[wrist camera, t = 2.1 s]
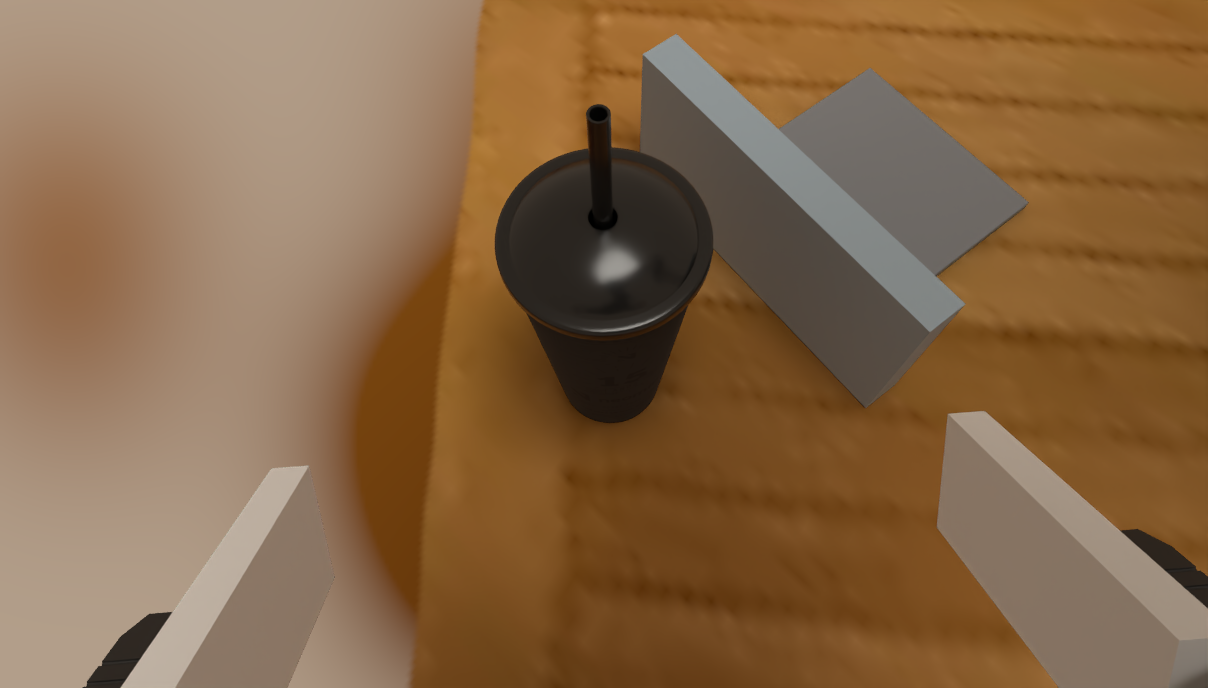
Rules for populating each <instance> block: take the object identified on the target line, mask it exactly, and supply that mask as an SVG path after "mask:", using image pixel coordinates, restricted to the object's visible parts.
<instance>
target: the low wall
mask: <svg viewBox="0 0 1208 688" xmlns="http://www.w3.org/2000/svg"><path fill="white" fill-rule="evenodd" d="M640 152H641V153H644V154H647V155H649V156H652V157H655V158H657V159H659V160H661V161H663V162H664V163H666V164H668V165H669V166H671V167H672V168H674V169H675V170H677V171H678V172H679V173H680V174H681V175H683V176H684V177H685V178H686V179H687V180H688V181H689V182H690V183H691V184H692V186H693V187H694V188H695V190H696V191H697V192H698V194H699V195H700V197H701V199H702V200H703V202H704V204H705V206H706V208H707V211H708V213H709V216H710V219H711V224H712V229H713V249H714V250H715V251H716V252H717V253H718V254H719V255H720V256H721V257H722V258H723V259H724V260H725V261H726V262H727V263H728V264H729V265H730V266H731V267H732V268H733V270H734V271H735V272H736V273H737V274H738V275H739V276H740V277H741V278H742V279H743V280H744V281H745V282H746V283H747V284H748V285H749V286H750V287H751V288H752V289H753V291H754V292H755V293H756V294H757V295H758V296H759V297H760V298H761V299H762V300H763V301H764V302H765V303H766V304H767V305H768V306H769V307H770V308H771V309H772V310H773V311H774V313H775V314H776V315H777V316H778V317H779V318H780V319H781V320H782V321H783V322H784V323H785V324H786V325H787V326H788V327H789V328H790V329H791V330H792V331H793V332H794V334H795V335H796V336H797V337H798V338H799V339H800V340H801V341H802V342H803V343H804V344H805V345H806V346H807V347H808V348H809V349H810V350H811V351H812V352H813V353H814V354H815V356H816V357H817V358H818V359H819V360H820V361H821V362H822V363H823V364H824V365H825V366H826V367H827V368H828V369H829V370H830V371H831V372H832V373H833V374H834V375H835V377H836V378H837V379H838V380H839V381H840V382H841V383H842V384H843V385H844V386H845V387H846V388H847V389H848V390H849V391H850V392H851V393H852V394H853V395H854V396H855V397H856V399H857V400H858V401H859V402H860V403H861V404H862V405H863V406H864V407H865V408H867V407H868V406H869V405H870V404H872V403H873V402H874V401H875V400H877V399H878V398H879V397H880V396H882V395H883V394H884V393H885V392H887V391H888V390H889V389H890V388H891V387H893V386H894V385H895V384H896V383H897V382H898V381H899V379H900V378H901V377H902V376H903V375H904V374H905V373H906V371H907V370H908V369H909V368H910V367H911V366H912V365H913V363H914V362H915V361H916V360H917V359H918V358H919V357H920V355H921V354H922V353H923V352H924V351H925V350H926V349H927V347H928V346H929V345H930V344H931V343H932V342H933V341H934V339H935V338H936V337H937V336H938V335H939V334H940V333H941V331H942V330H943V329H944V328H945V327H946V326H947V325H948V323H949V322H950V321H951V320H952V319H953V318H954V317H955V315H956V314H957V313H958V312H959V311H960V310H961V309H962V307H963V306H964V305H965V303H964V302H963V301H962V300H961V299H960V298H959V297H957V296H956V295H955V294H954V293H953V292H952V291H951V290H950V289H949V288H948V287H947V286H946V285H945V284H944V283H942V282H941V281H940V280H939V279H938V278H937V277H936V276H935V275H934V274H933V273H932V272H931V271H930V270H929V269H927V268H926V267H925V266H924V265H923V264H922V263H921V262H920V261H919V260H918V259H917V258H916V257H915V256H914V255H912V254H911V253H910V252H909V251H908V250H907V249H906V248H905V247H904V246H903V245H902V244H901V243H900V242H899V241H897V240H896V239H895V238H894V237H893V236H892V235H891V234H890V233H889V232H888V231H887V230H886V229H885V228H884V227H882V226H881V225H880V224H879V223H878V222H877V221H876V220H875V219H874V218H873V217H872V216H871V215H870V214H869V213H867V212H866V211H865V210H864V209H863V208H862V207H861V206H860V205H859V204H858V203H857V202H856V201H855V200H854V199H852V198H851V197H850V196H849V195H848V194H847V193H846V192H845V191H844V190H843V189H842V188H841V187H840V186H839V185H837V184H836V183H835V182H834V181H833V180H832V179H831V178H830V177H829V176H828V175H827V174H826V173H825V172H824V171H822V170H821V169H820V168H819V167H818V166H817V165H816V164H815V163H814V162H813V161H812V160H811V159H810V158H809V157H807V156H806V155H805V154H804V153H803V152H802V151H801V150H800V149H799V148H798V147H797V146H796V145H795V144H794V143H792V142H791V141H790V140H789V139H788V138H787V137H786V136H785V135H784V134H783V133H782V132H781V131H780V130H779V129H777V128H776V127H775V126H774V125H773V124H772V123H771V122H770V121H769V120H768V119H767V118H766V117H765V116H764V115H762V114H761V113H760V112H759V111H758V110H757V109H756V108H755V107H754V106H753V105H752V104H751V103H750V102H749V101H747V100H746V99H745V98H744V97H743V96H742V95H741V94H740V93H739V92H738V91H737V90H736V89H735V88H734V87H732V86H731V85H730V84H729V83H728V82H727V81H726V80H725V79H724V78H723V77H722V76H721V75H720V74H719V73H717V72H716V71H715V70H714V69H713V68H712V67H711V66H710V65H709V64H708V63H707V62H706V61H705V60H704V59H702V58H701V57H700V56H699V55H698V54H697V53H696V52H695V51H694V50H693V49H692V48H691V47H690V46H689V45H687V44H686V43H685V42H684V41H683V40H682V39H681V38H680V37H679V36H678V35H677V34H675V35H674V36H672V37H670V38H669V39H667V40H666V41H664V42H662V43H661V44H659V45H657V46H656V47H654V48H652V49H651V50H649V51H648V52H646V53H644V54H643V67H642V100H641V133H640Z"/></svg>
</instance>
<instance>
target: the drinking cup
mask: <svg viewBox="0 0 1208 688" xmlns="http://www.w3.org/2000/svg"><path fill="white" fill-rule="evenodd" d="M586 119H587V135H588V149H582V150H578V151H573V152H570V153H567V154H564V155H561V156H559V157H556V158H554V159H552V160H550V161H548V162H546V163H544V164H543V165H541V166H539V167H538V168H537V169H535V170H534V171H532V172H531V173H530V174H529V175H528V176H526V177H525V178H524V179H523V180H522V181H521V182H520V183H519V184H518V185H517V187H516V188H515V189H514V190H513V192H512V193H511V195H510V196H509V198H508V199H507V201H506V203H505V205H504V207H503V209H502V211H501V214H500V216H499V219H498V223H497V227H496V233H495V255H496V260H497V265H498V269H499V271H500V275H501V277H502V280H503V282H504V284H505V286H506V288H507V290H508V291H509V293H510V295H511V296H512V297H513V299H514V300H515V301H516V303H517V304H518V305H519V306H520V307H521V308H522V309H523V310H524V311H525V312H526V313H527V315H528V317H529V319H530V321H531V323H532V325H533V327H534V329H535V331H536V333H537V335H538V337H539V340H540V342H541V344H542V346H543V348H544V350H545V352H546V354H547V356H548V358H549V360H550V362H551V364H552V366H553V369H554V371H555V373H556V375H557V377H558V379H559V381H560V383H561V385H562V387H563V389H564V391H565V393H566V395H567V397H568V399H569V401H570V402H571V404H572V405H573V406H574V407H575V408H576V409H577V410H578V411H579V412H580V413H581V414H583V415H584V416H586V417H588V418H590V419H593V420H595V421H599V422H605V423H615V422H622V421H625V420H628V419H631V418H633V417H635V416H637V415H638V414H640V413H641V412H642V411H643V410H644V409H645V408H646V407H647V406H648V405H649V404H650V402H651V401H652V399H653V398H654V396H655V393H656V391H657V388H658V385H659V383H660V380H661V377H662V374H663V372H664V369H665V366H666V364H667V361H668V358H669V356H670V353H671V350H672V347H673V345H674V342H675V339H676V337H677V334H678V331H679V328H680V326H681V323H682V320H683V318H684V315H685V312H686V310H687V307H688V305H689V303H690V302H691V301H692V300H693V299H694V297H695V296H696V295H697V293H698V292H699V290H700V288H701V287H702V285H703V283H704V281H705V279H706V276H707V273H708V271H709V267H710V263H711V259H712V253H713V229H712V224H711V219H710V216H709V213H708V211H707V208H706V206H705V204H704V202H703V200H702V199H701V197H700V195H699V194H698V192H697V191H696V190H695V188H694V187H693V186H692V184H691V183H690V182H689V181H688V180H687V179H686V178H685V177H684V176H683V175H681V174H680V173H679V172H678V171H677V170H675V169H674V168H672V167H671V166H669V165H668V164H666V163H664V162H663V161H661V160H659V159H657V158H655V157H652V156H649V155H647V154H644V153H641V152H637V151H633V150H628V149H622V148H611V113H610V110H609V108H608V107H606V106H604V105H601V104H597V105H593V106H591V107H590V108H589V109H588V110H587V112H586Z"/></svg>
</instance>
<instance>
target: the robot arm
mask: <svg viewBox="0 0 1208 688" xmlns="http://www.w3.org/2000/svg"><path fill="white" fill-rule="evenodd" d="M937 528H938V530H939V531H940V532H941V534H942V535H943V536H944V537H945V539H946V540H947V541H948V543H949V544H950V545H951V547H952V548H953V549H954V551H955V552H956V553H957V555H958V556H959V557H960V559H961V560H962V561H963V562H964V564H965V565H966V566H967V568H968V569H969V570H970V572H971V573H972V574H973V576H974V577H975V578H976V580H977V581H978V582H979V583H980V585H981V586H982V587H983V589H984V590H985V591H986V593H987V594H988V595H989V597H990V598H991V599H992V601H993V602H994V603H995V604H996V606H997V607H998V608H999V610H1000V611H1001V612H1002V614H1003V615H1004V616H1005V618H1006V619H1007V620H1008V622H1009V623H1010V624H1011V626H1012V627H1013V628H1014V629H1015V631H1016V632H1017V633H1018V635H1019V636H1020V637H1021V639H1022V640H1023V641H1024V643H1025V644H1026V645H1027V647H1028V648H1029V649H1030V650H1031V652H1032V653H1033V654H1034V656H1035V657H1036V658H1037V660H1038V661H1039V662H1040V664H1041V665H1042V666H1043V668H1044V669H1045V670H1046V672H1047V673H1048V674H1049V675H1050V677H1051V678H1052V679H1053V681H1054V682H1055V683H1056V685H1057V686H1058V687H1059V688H1208V577H1207V576H1206V575H1205V574H1204V573H1203V572H1201V571H1197V570H1196V566H1194V565H1193V564H1192V563H1191V562H1190V561H1188V560H1187V559H1186V558H1185V557H1184V556H1182V555H1181V554H1180V553H1179V552H1178V551H1176V550H1175V549H1174V548H1173V547H1172V546H1170V545H1168V544H1166V543H1164V542H1162V541H1160V540H1158V539H1156V538H1154V537H1152V536H1150V535H1148V534H1146V533H1144V532H1142V531H1140V530H1138V529H1134V530H1122V531H1120V530H1119V529H1117V528H1116V527H1115V526H1114V525H1113V524H1112V523H1111V522H1109V521H1108V520H1107V519H1106V518H1105V517H1104V516H1103V515H1102V514H1100V513H1099V512H1098V511H1097V510H1096V509H1095V508H1094V507H1093V506H1091V505H1090V504H1089V503H1088V502H1087V501H1086V500H1085V499H1084V498H1082V497H1081V496H1080V495H1079V494H1078V493H1077V492H1076V491H1074V490H1073V489H1072V488H1071V487H1070V486H1069V485H1068V484H1067V483H1065V482H1064V481H1063V480H1062V479H1061V478H1060V477H1059V476H1058V475H1056V474H1055V473H1054V472H1053V471H1052V470H1051V469H1050V468H1049V467H1047V466H1046V465H1045V464H1044V463H1043V462H1042V461H1041V460H1039V459H1038V458H1037V457H1036V456H1035V455H1034V454H1033V453H1032V452H1030V451H1029V450H1028V449H1027V448H1026V447H1025V446H1024V445H1023V444H1021V443H1020V442H1019V441H1018V440H1017V439H1016V438H1015V437H1014V436H1012V435H1011V434H1010V433H1009V432H1008V431H1007V430H1006V429H1004V428H1003V427H1002V426H1001V425H1000V424H999V423H998V422H997V421H995V420H994V419H993V418H992V417H991V416H990V415H989V414H988V413H986V412H985V411H978V412H965V413H953V414H948V418H947V428H946V439H945V449H944V459H943V469H942V479H941V490H940V500H939V510H938V520H937ZM334 578H335V576H334V573H333V568H332V563H331V559H330V555H329V550H328V546H327V541H326V537H325V533H324V528H323V524H322V519H321V515H320V511H319V506H318V502H317V498H316V493H315V489H314V484H313V480H312V476H311V471H310V467H309V466H296V467H285V468H272V469H271V470H270V471H269V473H268V474H267V476H266V477H265V479H264V480H263V481H262V483H261V484H260V486H259V487H258V489H257V490H256V492H255V493H254V495H253V496H252V497H251V499H250V500H249V502H248V504H247V505H246V506H245V508H244V509H243V511H242V512H241V513H240V515H239V516H238V518H237V519H236V521H235V522H234V524H233V525H232V527H231V528H230V529H229V531H228V532H227V534H226V535H225V537H224V538H223V540H222V541H221V543H220V544H219V545H218V547H217V548H216V550H215V551H214V553H213V554H212V556H211V557H210V559H209V560H208V561H207V563H206V564H205V566H204V567H203V569H202V570H201V572H200V573H199V574H198V576H197V578H196V579H195V581H194V582H193V583H192V585H191V586H190V588H189V589H188V591H187V592H186V593H185V595H184V596H183V598H182V599H181V601H180V602H179V604H178V605H177V606H176V608H175V609H174V611H173V612H167V613H155V614H149V615H147V616H146V617H145V618H143V619H142V620H141V621H140V622H139V623H137V624H136V625H135V626H134V627H132V628H131V629H130V630H128V631H127V632H126V633H125V634H123V635H122V636H121V637H120V638H119V639H118V641H117V642H116V644H115V645H114V646H113V648H112V649H111V650H110V652H109V653H108V654H107V656H106V657H105V658H104V660H103V661H102V666H98V668H97V669H96V670H95V672H94V673H93V674H92V676H91V677H90V678H89V680H88V681H87V686H86V687H83V688H287V687H288V685H289V682H290V680H291V678H292V675H293V673H294V671H295V668H296V666H297V664H298V662H299V659H300V657H301V655H302V652H303V650H304V648H305V645H306V643H307V641H308V638H309V636H310V634H311V631H312V629H313V627H314V625H315V622H316V620H317V618H318V615H319V613H320V610H321V608H322V606H323V604H324V601H325V599H326V597H327V594H328V592H329V590H330V587H331V585H332V582H333V580H334Z"/></svg>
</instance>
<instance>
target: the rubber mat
mask: <svg viewBox="0 0 1208 688" xmlns="http://www.w3.org/2000/svg"><path fill="white" fill-rule="evenodd" d="M779 130H780V131H781V132H782V133H783V134H784V135H785V136H786V137H787V138H788V139H789V140H790V141H791V142H792V143H794V144H795V145H796V146H797V147H798V148H799V149H800V150H801V151H802V152H803V153H804V154H805V155H806V156H807V157H809V158H810V159H811V160H812V161H813V162H814V163H815V164H816V165H817V166H818V167H819V168H820V169H821V170H822V171H824V172H825V173H826V174H827V175H828V176H829V177H830V178H831V179H832V180H833V181H834V182H835V183H836V184H837V185H839V186H840V187H841V188H842V189H843V190H844V191H845V192H846V193H847V194H848V195H849V196H850V197H851V198H852V199H854V200H855V201H856V202H857V203H858V204H859V205H860V206H861V207H862V208H863V209H864V210H865V211H866V212H867V213H869V214H870V215H871V216H872V217H873V218H874V219H875V220H876V221H877V222H878V223H879V224H880V225H881V226H882V227H884V228H885V229H886V230H887V231H888V232H889V233H890V234H891V235H892V236H893V237H894V238H895V239H896V240H897V241H899V242H900V243H901V244H902V245H903V246H904V247H905V248H906V249H907V250H908V251H909V252H910V253H911V254H912V255H914V256H915V257H916V258H917V259H918V260H919V261H920V262H921V263H922V264H923V265H924V266H925V267H926V268H927V269H929V270H930V271H931V272H932V273H933V274H934V275H935V276H937V275H939V274H940V273H941V272H943V271H944V270H945V269H946V268H948V267H949V266H950V265H952V264H953V263H954V262H955V261H957V260H958V259H959V258H961V257H962V256H963V255H965V254H966V253H967V252H968V251H970V250H971V249H972V248H974V247H975V246H976V245H977V244H979V243H980V242H981V241H983V240H984V239H985V238H986V237H988V236H989V235H990V234H992V233H993V232H994V231H996V230H997V229H998V228H999V227H1001V226H1002V225H1003V224H1005V223H1006V222H1007V221H1008V220H1010V219H1011V218H1012V217H1014V216H1015V215H1016V214H1018V213H1019V212H1020V211H1021V210H1023V209H1024V208H1025V207H1026V205H1027V204H1028V203H1029V202H1028V201H1026V200H1025V199H1024V198H1023V197H1022V196H1021V195H1019V194H1018V193H1017V192H1016V191H1015V190H1013V189H1012V188H1011V187H1010V186H1009V185H1008V184H1006V183H1005V182H1004V181H1003V180H1002V179H1000V178H999V177H998V176H997V175H996V174H995V173H993V172H992V171H991V170H990V169H989V168H988V167H986V166H985V165H984V164H983V163H982V162H980V161H979V160H978V159H977V158H976V157H975V156H973V155H972V154H971V153H970V152H969V151H967V150H966V149H965V148H964V147H963V146H962V145H960V144H959V143H958V142H957V141H956V140H954V139H953V138H952V137H951V136H950V135H949V134H947V133H946V132H945V131H944V130H943V129H941V128H940V127H939V126H938V125H937V124H936V123H934V122H933V121H932V120H931V119H930V118H929V117H927V116H926V115H925V114H924V113H923V112H921V111H920V110H919V109H918V108H917V107H916V106H914V105H913V104H912V103H911V102H910V101H908V100H907V99H906V98H905V97H904V96H903V95H901V94H900V93H899V92H898V91H897V90H895V89H894V88H893V87H892V86H891V85H890V84H888V83H887V82H886V81H885V80H884V79H882V78H881V77H880V76H879V75H878V74H877V73H875V72H874V71H873V70H872V69H871V68H869V69H868V70H866V71H865V72H863V73H862V74H860V75H859V76H857V77H856V78H854V79H853V80H851V81H850V82H848V83H847V84H845V85H844V86H842V87H841V88H839V89H838V90H836V91H835V92H833V93H832V94H830V95H829V96H828V97H826V98H825V99H823V100H822V101H820V102H819V103H817V104H816V105H814V106H813V107H811V108H810V109H808V110H807V111H805V112H804V113H802V114H801V115H799V116H798V117H796V118H795V119H793V120H792V121H790V122H789V123H787V124H786V125H784V126H783V127H781V128H780V129H779Z"/></svg>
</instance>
